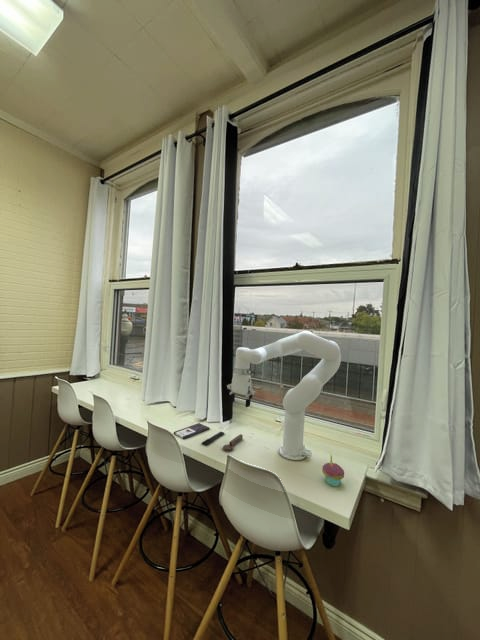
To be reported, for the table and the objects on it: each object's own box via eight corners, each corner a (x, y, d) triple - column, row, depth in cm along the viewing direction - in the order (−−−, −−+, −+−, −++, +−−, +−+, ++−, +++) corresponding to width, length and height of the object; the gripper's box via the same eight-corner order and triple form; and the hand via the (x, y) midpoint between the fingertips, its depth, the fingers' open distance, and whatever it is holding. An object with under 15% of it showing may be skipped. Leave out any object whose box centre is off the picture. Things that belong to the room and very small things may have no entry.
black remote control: (220, 432, 148) (220, 431, 148) (224, 434, 146) (224, 432, 146) (201, 444, 133) (201, 442, 133) (206, 445, 132) (206, 444, 132)
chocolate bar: (209, 427, 152) (184, 437, 138) (209, 429, 152) (184, 439, 138) (199, 423, 157) (174, 431, 143) (198, 424, 157) (173, 433, 143)
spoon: (237, 438, 142) (237, 433, 142) (245, 440, 140) (245, 435, 140) (221, 449, 129) (221, 444, 129) (229, 452, 126) (229, 447, 126)
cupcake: (335, 491, 101) (336, 460, 101) (317, 480, 107) (318, 450, 108) (348, 484, 106) (349, 454, 106) (329, 473, 112) (331, 445, 113)
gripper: (260, 373, 135) (257, 406, 135) (232, 367, 145) (230, 399, 145) (252, 375, 129) (249, 410, 129) (224, 369, 139) (222, 402, 139)
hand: (239, 404), depth 137 cm, fingers open, 9 cm apart
